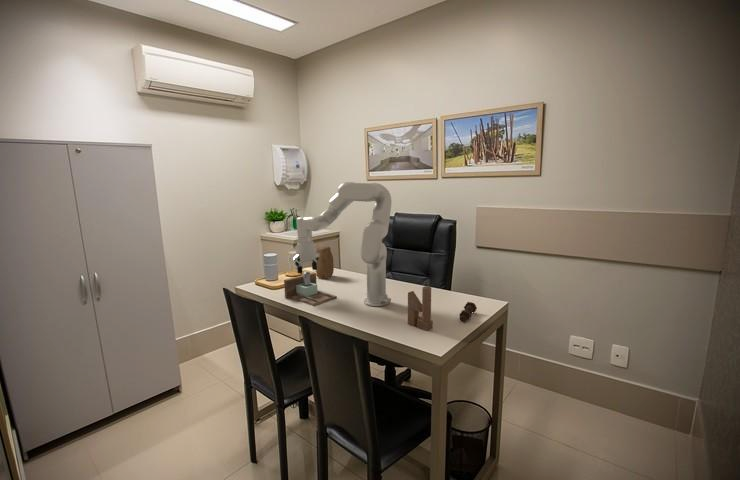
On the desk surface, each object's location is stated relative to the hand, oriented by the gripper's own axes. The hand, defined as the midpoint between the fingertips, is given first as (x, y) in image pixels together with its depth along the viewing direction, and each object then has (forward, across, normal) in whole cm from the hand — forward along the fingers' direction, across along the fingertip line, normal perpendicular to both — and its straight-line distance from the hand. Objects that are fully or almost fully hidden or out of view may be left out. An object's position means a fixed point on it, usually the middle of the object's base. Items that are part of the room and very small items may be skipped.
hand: (307, 271), depth 192 cm
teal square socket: (+12, 0, -1) cm, 12 cm away
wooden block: (+16, -4, +69) cm, 71 cm away
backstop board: (+14, 0, +2) cm, 14 cm away
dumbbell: (+17, -27, +79) cm, 85 cm away
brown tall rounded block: (+14, -32, -23) cm, 41 cm away
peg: (+13, 0, -1) cm, 13 cm away
